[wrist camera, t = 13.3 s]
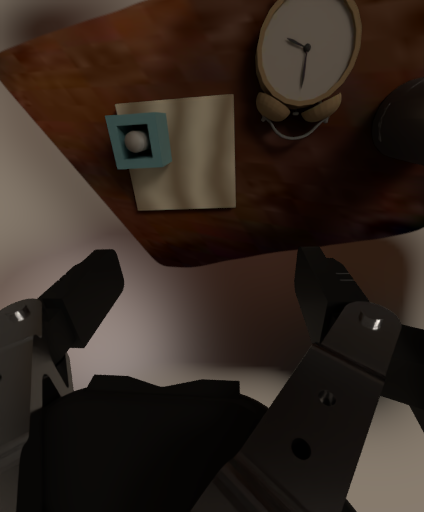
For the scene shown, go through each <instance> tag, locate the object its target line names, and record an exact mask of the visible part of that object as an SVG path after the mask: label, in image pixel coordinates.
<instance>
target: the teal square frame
mask: <svg viewBox="0 0 424 512" xmlns="http://www.w3.org/2000/svg"><path fill="white" fill-rule="evenodd" d="M105 118H106V122H107V126H108V131H109V135H110V139H111V143H112V148H113V152H114V156H115V160H116V165H117V169H136V168H156V167H164V166H166V165H167V164H169V163H170V162H172V156H171V148H170V141H169V133H168V125H167V118H166V113H159V112H149V113H136V114H123V115H110V116H105ZM140 124H147V125H148V131H149V138H150V144H151V150H152V154H146V155H138V153H134V152H131V151H130V150H128V149H127V147H126V146H125V142H124V139H125V136H126V134H127V133H129V132H131V131H133V127H132V125H140Z"/></svg>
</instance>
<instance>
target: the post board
mask: <svg viewBox="0 0 424 512" xmlns="http://www.w3.org/2000/svg"><path fill="white" fill-rule="evenodd" d="M115 106H116V111H117V115H123V114H136V113H149V112H159V113H166V118H167V125H168V133H169V141H170V148H171V156H172V162H170V163H169V164H167V165H166V166H164V167H156V168H136V169H129V171H130V175H131V180H132V185H133V189H134V194H135V199H136V203H137V208H138V211H144V210H173V209H203V208H232V207H236V195H235V143H234V95H233V94H228V95H216V96H205V97H193V98H181V99H170V100H158V101H147V102H135V103H123V104H115ZM132 127H133V131H131V132H129V133H127V134H126V136H125V139H124V142H125V146H126V147H127V149H128V150H130V151H131V152H134V153H138V155H146V154H152V150H151V144H150V138H149V131H148V125H147V124H140V125H132Z"/></svg>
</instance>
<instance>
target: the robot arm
mask: <svg viewBox="0 0 424 512" xmlns="http://www.w3.org/2000/svg"><path fill="white" fill-rule="evenodd" d="M372 138H373V141H374V144H375V146H376V147H377V149H378V150H379V151H380V152H381V153H382V154H384V155H386V156H388V157H392V158H396V159H400V160H404V161H407V162H411V163H415V164H419V165H423V166H424V77H422V78H418V79H414V80H411V81H408V82H406V83H404V84H402V85H401V86H399V87H398V88H397V89H395V90H394V91H392V92H391V94H390V95H389V96H388V97H387V98H386V99H385V100H384V101H383V103H382V104H381V105H380V107H379V109H378V111H377V113H376V115H375V118H374V121H373V126H372ZM294 282H295V293H296V296H297V298H298V302H299V305H300V308H301V311H302V314H303V317H304V320H305V323H306V326H307V329H308V332H309V335H310V338H311V341H312V344H313V345H312V346H311V347H310V349H309V350H308V352H307V353H306V354H305V356H304V357H303V359H302V360H301V362H300V364H299V365H298V366H297V368H296V369H295V371H294V372H293V374H292V375H291V376H290V378H289V379H288V381H287V382H286V384H285V385H284V387H283V388H282V390H281V391H280V393H279V394H278V396H277V397H276V399H275V400H274V401H273V403H272V404H271V406H270V407H269V408H268V407H266V406H265V405H263V404H262V403H260V402H258V401H256V400H254V399H252V398H250V397H248V396H245V395H242V394H240V386H239V385H240V384H239V381H226V380H204V379H202V380H196V381H192V382H186V383H181V384H176V385H171V386H166V387H160V386H156V385H153V384H150V383H147V382H144V381H141V380H138V379H135V378H132V377H129V376H114V375H94V376H93V378H92V380H91V382H90V383H89V385H88V387H87V388H83V389H80V390H77V391H74V390H73V383H72V374H71V367H70V359H69V356H68V354H67V351H68V349H69V348H84V347H85V346H86V345H87V343H88V342H89V340H90V339H91V337H92V336H93V334H94V333H95V331H96V330H97V328H98V327H99V325H100V324H101V322H102V321H103V319H104V318H105V316H106V315H107V313H108V312H109V311H110V309H111V308H112V306H113V305H114V303H115V302H116V300H117V299H118V297H119V296H120V294H121V293H122V291H123V288H124V278H123V274H122V271H121V267H120V264H119V260H118V257H117V254H116V252H115V251H114V250H113V249H105V250H104V249H103V250H95V251H93V252H92V253H91V254H90V255H89V256H88V257H87V258H86V259H85V260H83V261H82V262H81V263H79V264H77V265H75V266H73V267H72V268H71V269H70V270H69V271H68V272H67V273H66V275H63V276H62V277H61V278H60V279H59V281H57V282H56V283H54V285H52V286H51V287H50V288H49V289H48V290H47V291H45V292H44V293H43V294H42V295H41V296H40V297H39V298H38V299H25V300H21V301H18V302H15V303H13V304H11V305H9V306H7V307H5V308H3V309H2V310H0V512H356V510H355V509H354V508H353V507H352V505H351V504H350V503H349V502H348V500H347V499H346V496H347V493H348V490H349V487H350V484H351V481H352V478H353V475H354V472H355V469H356V466H357V463H358V460H359V457H360V454H361V451H362V448H363V445H364V442H365V439H366V436H367V434H368V430H369V427H370V425H371V422H372V418H373V415H374V412H375V409H376V406H377V404H378V401H379V398H380V396H383V397H386V398H389V399H392V400H395V401H398V402H401V403H404V404H407V405H409V406H410V408H411V410H412V411H413V413H414V415H415V417H416V419H417V421H418V422H419V424H420V426H421V428H422V430H423V432H424V330H423V329H419V328H414V327H410V326H406V325H402V324H401V322H400V320H399V319H398V317H397V316H396V315H395V314H394V313H393V312H391V311H390V310H388V309H386V308H385V307H383V306H380V305H378V304H375V303H371V302H369V300H368V299H367V297H366V296H365V295H364V293H363V292H362V290H361V289H360V288H359V286H358V285H357V284H356V282H355V281H353V278H352V277H351V275H350V274H349V273H348V271H347V270H346V268H345V267H344V266H343V265H342V264H341V263H340V262H338V261H336V260H335V259H333V258H326V257H325V255H324V254H323V252H322V250H321V249H320V247H318V246H316V247H299V249H298V253H297V262H296V271H295V280H294Z"/></svg>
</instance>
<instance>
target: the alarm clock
mask: <svg viewBox="0 0 424 512" xmlns="http://www.w3.org/2000/svg"><path fill="white" fill-rule="evenodd" d="M361 31H362V25H361V20H360V15H359V10H358V7H357V5H356V4H355V2H354V0H278V1H277V2H276V3H275V4H274V5H273V6H272V8H271V9H270V11H269V13H268V15H267V17H266V19H265V21H264V23H263V25H262V27H261V31H260V36H259V41H258V46H257V51H256V55H255V60H256V74H257V77H258V80H259V83H260V86H261V89H262V90H263V91H264V93H262V92H259V93H258V95H257V99H256V105H257V109H258V111H259V112H260V113H261V114H262V119H261V121H262V122H264V121H265V120H267V121H268V122H269V123H270V125H271V127H272V129H273V131H274V132H275V133H276V134H277V135H278V136H280V137H282V138H285V139H290V140H293V139H300V138H304V137H306V136H308V135H309V134H311V133H312V132H313V131H314V130H315V129H316V128H317V127H318V126H319V125H320V124H321V123H322V122H324V123H327V122H328V118H329V116H330V115H332V114H333V113H334V112H335V111H336V110H337V109H338V107H339V105H340V103H341V93H340V94H338V95H336V96H334V97H332V98H330V99H328V100H326V101H324V102H323V103H322V101H321V100H323V99H324V98H326V97H328V96H330V95H331V94H332V93H333V92H334V91H335V90H336V89H337V88H338V87H340V86H341V85H342V84H343V82H344V81H345V79H346V78H347V76H348V75H349V73H350V71H351V70H352V68H353V67H354V64H355V61H356V58H357V55H358V52H359V49H360V43H361ZM317 102H318V103H319V105H317V106H315V107H313V108H311V109H309V110H307V111H305V112H303V113H301V115H302V117H303V119H304V120H306V121H308V122H318V121H320V122H319V123H317V124H316V125H315V126H314V127H313V128H312V129H311V130H310V131H309V132H308V133H306V134H304V135H302V136H298V137H288V136H285V135H282V134H281V133H279V132H278V131H277V130H276V128H275V127H274V125H273V124H272V122H271V121H282V120H284V119H286V118H287V117H288V115H289V114H290V110H289V109H288V108H290V109H296V110H297V109H299V108H306V107H309V106H311V105H313V104H315V103H317ZM298 114H299V112H293V115H298ZM327 117H328V118H327ZM270 120H271V121H270ZM321 120H322V121H321Z"/></svg>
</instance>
